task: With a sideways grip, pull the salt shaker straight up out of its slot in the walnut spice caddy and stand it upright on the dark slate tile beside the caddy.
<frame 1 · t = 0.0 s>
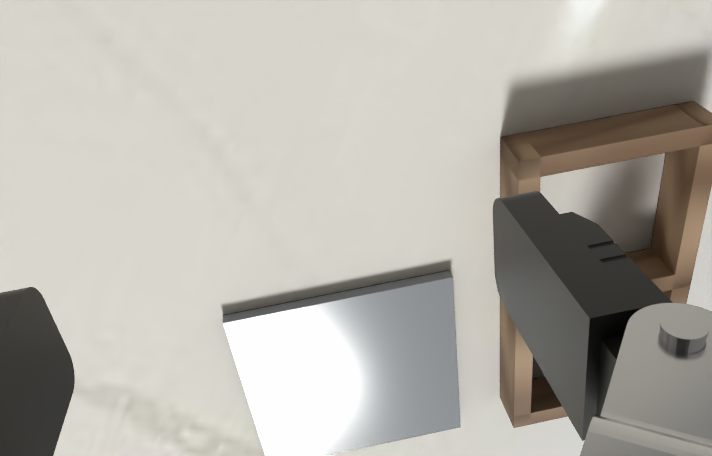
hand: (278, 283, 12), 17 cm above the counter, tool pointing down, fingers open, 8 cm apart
spice caddy: (584, 268, 36), on the counter
slate tile: (352, 372, 38), on the counter
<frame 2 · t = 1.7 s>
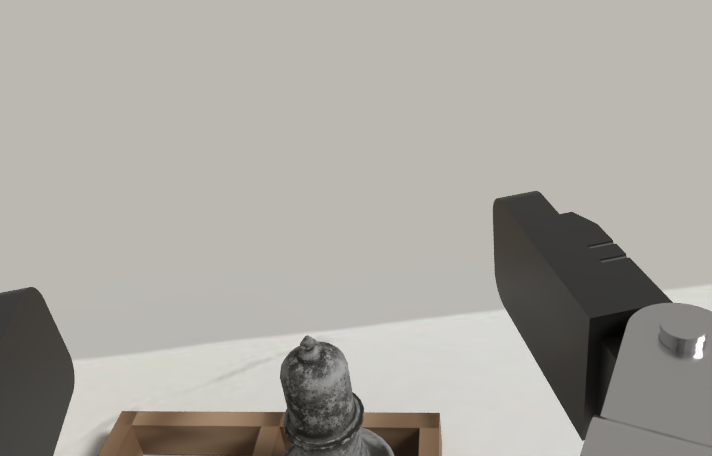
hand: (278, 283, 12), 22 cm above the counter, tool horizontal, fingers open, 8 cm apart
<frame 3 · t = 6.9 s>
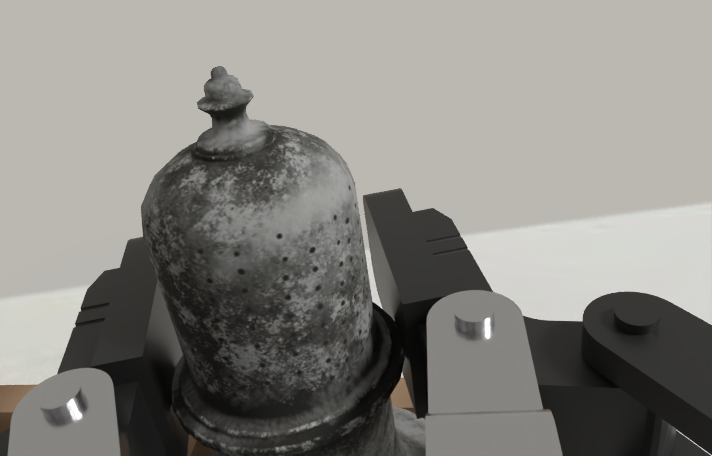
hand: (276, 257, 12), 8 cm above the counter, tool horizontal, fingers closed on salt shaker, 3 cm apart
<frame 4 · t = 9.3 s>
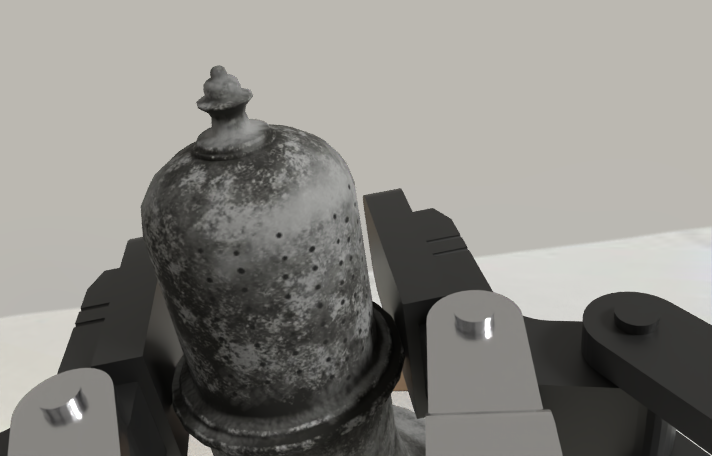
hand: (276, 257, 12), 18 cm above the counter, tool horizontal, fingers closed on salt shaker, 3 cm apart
when the fingers open (9 cm above the counter, at t = 11.7 s): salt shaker drops 1 cm, resting on slate tile.
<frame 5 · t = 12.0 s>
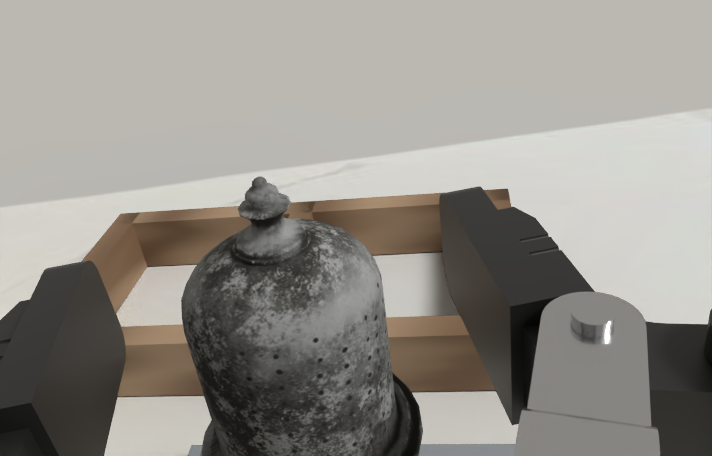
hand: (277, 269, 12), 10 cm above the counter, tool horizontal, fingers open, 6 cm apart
spice caddy: (294, 309, 27), on the counter
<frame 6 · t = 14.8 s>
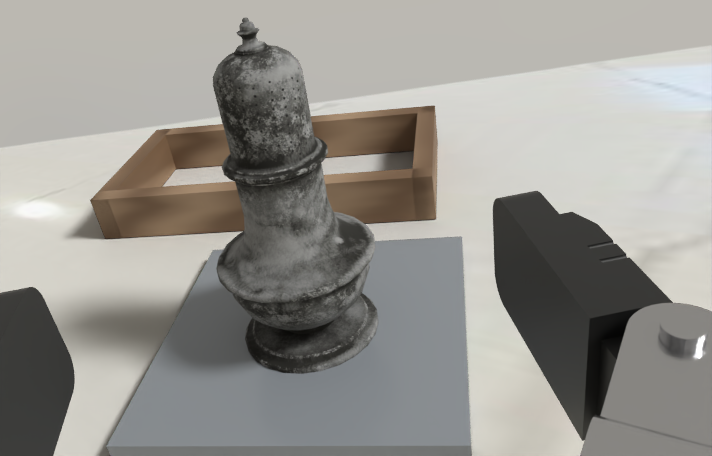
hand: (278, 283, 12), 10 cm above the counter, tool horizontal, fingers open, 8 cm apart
spice caddy: (282, 187, 38), on the counter
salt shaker: (312, 330, 26), resting on slate tile
slate tile: (314, 336, 26), on the counter
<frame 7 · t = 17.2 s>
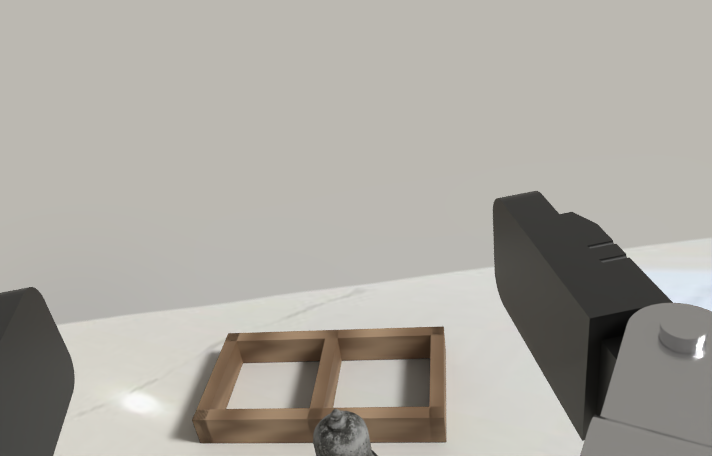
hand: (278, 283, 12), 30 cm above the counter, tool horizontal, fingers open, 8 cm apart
spice caddy: (329, 393, 51), on the counter
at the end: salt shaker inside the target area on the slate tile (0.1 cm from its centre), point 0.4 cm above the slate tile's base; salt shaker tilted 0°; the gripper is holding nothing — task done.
